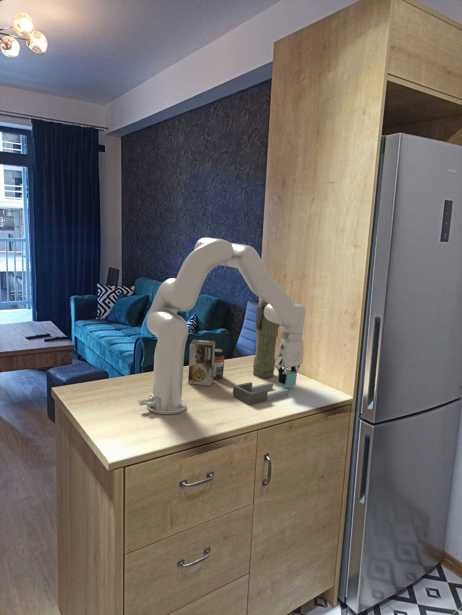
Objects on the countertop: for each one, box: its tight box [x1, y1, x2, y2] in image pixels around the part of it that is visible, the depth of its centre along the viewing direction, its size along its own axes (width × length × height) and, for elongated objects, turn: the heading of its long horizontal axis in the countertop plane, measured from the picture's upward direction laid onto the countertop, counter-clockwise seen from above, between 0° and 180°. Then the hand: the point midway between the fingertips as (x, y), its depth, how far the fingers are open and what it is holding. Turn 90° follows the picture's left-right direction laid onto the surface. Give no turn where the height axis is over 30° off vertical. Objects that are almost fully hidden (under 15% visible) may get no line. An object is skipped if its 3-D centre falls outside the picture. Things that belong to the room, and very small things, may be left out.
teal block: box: [276, 368, 298, 388], centre depth 174 cm, size 5×5×5 cm
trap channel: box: [232, 381, 289, 406], centre depth 166 cm, size 19×9×4 cm, turn 130°
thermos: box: [252, 298, 281, 379], centre depth 187 cm, size 9×12×35 cm
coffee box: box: [187, 339, 216, 387], centre depth 174 cm, size 9×6×16 cm
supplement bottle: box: [213, 348, 225, 380], centre depth 181 cm, size 6×6×11 cm
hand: (286, 381), depth 174 cm, fingers closed on teal block, 5 cm apart
